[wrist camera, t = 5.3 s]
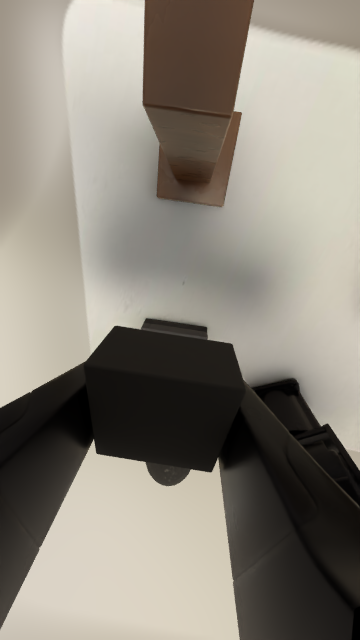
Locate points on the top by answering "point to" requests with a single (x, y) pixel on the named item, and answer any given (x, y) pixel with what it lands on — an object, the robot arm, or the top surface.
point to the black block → (162, 397)
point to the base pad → (175, 328)
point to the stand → (194, 92)
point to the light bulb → (167, 473)
